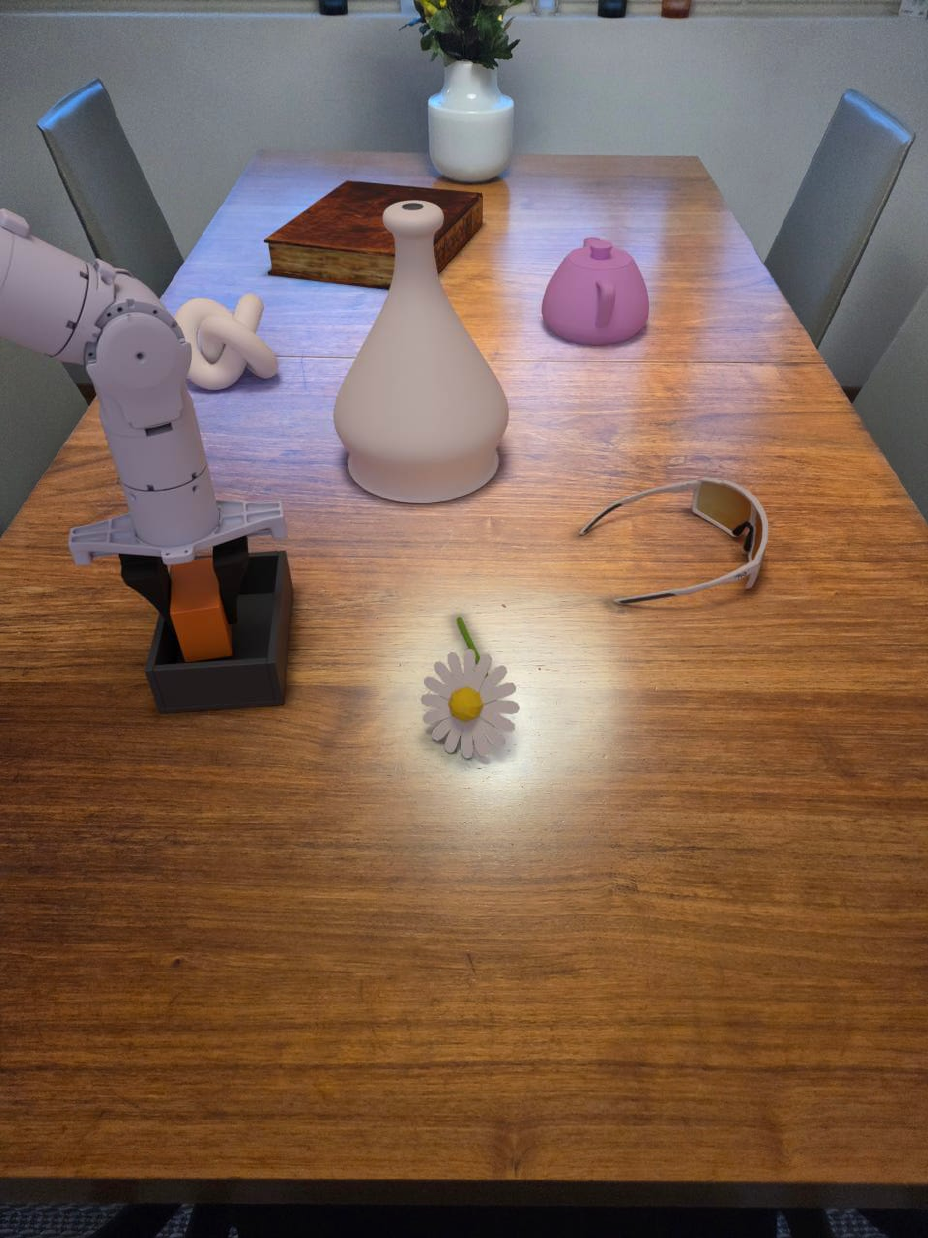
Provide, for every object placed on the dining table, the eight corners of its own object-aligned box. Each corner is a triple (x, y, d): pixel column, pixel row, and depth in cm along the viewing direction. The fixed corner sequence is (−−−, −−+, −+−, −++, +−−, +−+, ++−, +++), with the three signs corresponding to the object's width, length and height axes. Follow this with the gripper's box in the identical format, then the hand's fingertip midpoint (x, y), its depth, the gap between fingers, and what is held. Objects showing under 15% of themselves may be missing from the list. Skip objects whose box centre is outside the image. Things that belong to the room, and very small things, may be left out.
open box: (159, 713, 65) (144, 671, 62) (185, 598, 75) (173, 556, 72) (284, 705, 66) (274, 662, 63) (293, 591, 75) (286, 550, 72)
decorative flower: (436, 556, 67) (503, 692, 57) (492, 587, 71) (564, 720, 61) (374, 624, 70) (426, 767, 59) (431, 651, 74) (489, 789, 63)
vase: (421, 531, 82) (408, 259, 65) (304, 462, 91) (267, 207, 74) (541, 458, 91) (557, 204, 74) (425, 402, 100) (415, 164, 83)
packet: (185, 663, 66) (169, 613, 62) (186, 611, 70) (171, 562, 67) (232, 656, 66) (220, 606, 63) (230, 604, 70) (218, 556, 67)
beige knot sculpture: (309, 373, 105) (299, 300, 99) (231, 412, 98) (215, 336, 92) (247, 348, 111) (234, 276, 105) (169, 383, 104) (150, 309, 98)
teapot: (634, 293, 123) (644, 213, 116) (657, 357, 108) (670, 270, 101) (535, 293, 123) (539, 213, 116) (545, 357, 108) (550, 271, 101)
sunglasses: (792, 594, 74) (799, 548, 71) (622, 637, 74) (621, 594, 70) (723, 501, 85) (726, 457, 81) (573, 538, 84) (570, 496, 81)
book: (421, 293, 123) (419, 257, 120) (268, 274, 129) (262, 239, 125) (483, 225, 144) (483, 192, 141) (349, 211, 150) (346, 179, 146)
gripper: (39, 516, 54) (102, 671, 63) (277, 486, 56) (304, 639, 65) (53, 456, 59) (109, 607, 68) (270, 431, 61) (296, 581, 70)
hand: (204, 619), depth 67 cm, fingers closed on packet, 3 cm apart
